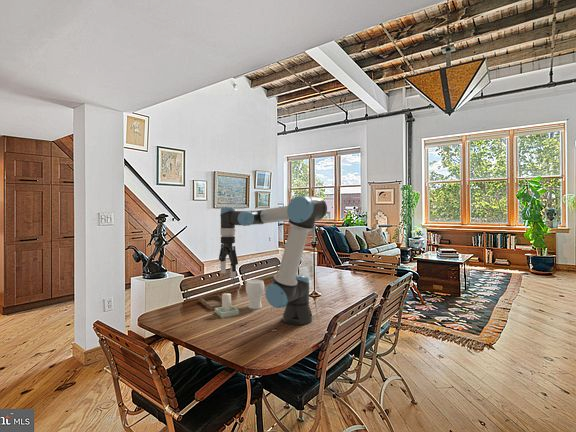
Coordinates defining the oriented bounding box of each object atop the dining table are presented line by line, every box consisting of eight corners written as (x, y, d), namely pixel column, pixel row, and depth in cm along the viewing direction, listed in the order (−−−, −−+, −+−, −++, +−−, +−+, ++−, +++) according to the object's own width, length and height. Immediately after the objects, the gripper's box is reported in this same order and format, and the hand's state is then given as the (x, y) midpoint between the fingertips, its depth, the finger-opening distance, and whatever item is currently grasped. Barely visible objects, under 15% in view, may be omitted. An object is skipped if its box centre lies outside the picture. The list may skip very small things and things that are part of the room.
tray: (231, 308, 191) (231, 303, 191) (211, 311, 185) (211, 306, 185) (218, 299, 209) (218, 294, 209) (199, 302, 202) (199, 297, 202)
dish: (238, 314, 180) (238, 310, 180) (221, 317, 175) (221, 313, 175) (231, 309, 188) (231, 305, 188) (214, 312, 183) (214, 308, 183)
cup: (261, 310, 187) (261, 283, 186) (243, 309, 189) (243, 283, 188) (266, 305, 197) (266, 279, 196) (249, 304, 199) (249, 278, 199)
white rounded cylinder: (232, 313, 181) (232, 294, 180) (224, 314, 178) (224, 296, 178) (229, 310, 185) (228, 292, 184) (220, 312, 182) (220, 294, 182)
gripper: (244, 237, 172) (244, 278, 173) (225, 233, 193) (225, 270, 194) (230, 238, 168) (230, 280, 169) (212, 234, 189) (213, 272, 189)
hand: (228, 275), depth 181 cm, fingers open, 13 cm apart
